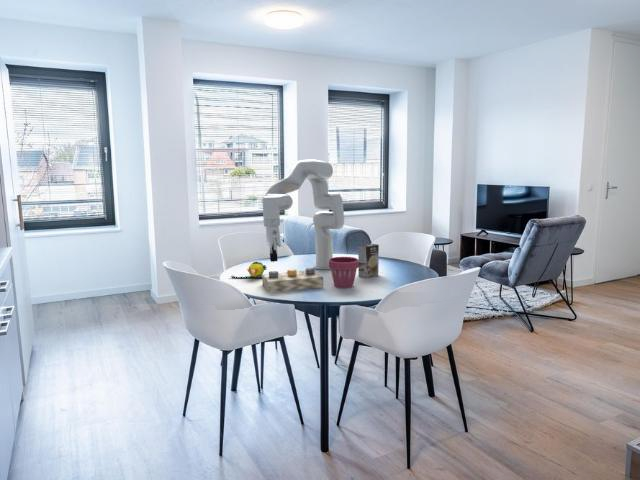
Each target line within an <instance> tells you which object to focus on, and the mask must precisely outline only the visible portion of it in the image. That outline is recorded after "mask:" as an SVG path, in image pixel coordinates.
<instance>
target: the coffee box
mask: <svg viewBox="0 0 640 480" xmlns="http://www.w3.org/2000/svg"><path fill="white" fill-rule="evenodd" d="M357 247H358V251H357V252H358V254H357V255H358V256H357V259H358V262H359V267H358V268H357V270H358V275H357V276H358V277H360V278H366V279H367V278H373V277H376V276H379V266H380V265H379V261H380V260H379V258H380V257H379V256H380V255H379V250H380V249H379V248H380V247H379V244H375V243H365V244H360V245H358V246H357Z"/></svg>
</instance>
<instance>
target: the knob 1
mask: <svg viewBox="0 0 640 480" xmlns="http://www.w3.org/2000/svg"><path fill="white" fill-rule="evenodd" d="M278 273H279V271H276V270H272V271H268V274H269V278H278Z"/></svg>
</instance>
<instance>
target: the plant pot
mask: <svg viewBox="0 0 640 480" xmlns="http://www.w3.org/2000/svg"><path fill="white" fill-rule="evenodd" d="M358 267H359V262H358V257H357V258H356V257H352V256H335V257H333V258H330V259H329V268H331V269H330V273H331V277H332V280H333V281H332V282H333V285H334V287H336V288H338V289H339V288H340V289H348V288H352V287H354V283H355V280H356V274H357V270H358Z"/></svg>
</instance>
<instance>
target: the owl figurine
mask: <svg viewBox="0 0 640 480" xmlns="http://www.w3.org/2000/svg"><path fill="white" fill-rule="evenodd" d="M266 270H267V265H266V264H263V263H262V262H259V261H254V262H252V263H251V264H250V265H249V266H248V268H247V269H246V271H247V272H248V273H249V275H244V276H245V277H242V278H243V279H244V278H245V279H247V278H262V274H264V271H266ZM230 277H234V275H231V276H230ZM246 277H247V278H246ZM240 278H241V277H237V278H236V277H235V278H234V279H240Z"/></svg>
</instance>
